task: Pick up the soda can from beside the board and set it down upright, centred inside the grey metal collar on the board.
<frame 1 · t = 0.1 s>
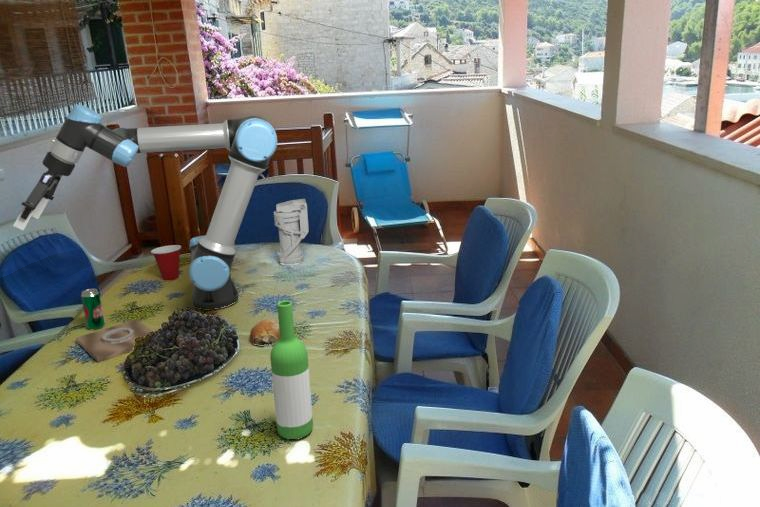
hand: (26, 222, 168), 36 cm above the table, tool tilted 35°, fingers open, 13 cm apart
plastic cup: (170, 278, 227), on the table
soda can: (96, 327, 186), on the table
bread roll: (268, 340, 173), on the table
wine bottle: (295, 432, 130), on the table
collar board: (119, 341, 175), on the table
grey tall angular piece: (294, 262, 241), on the table
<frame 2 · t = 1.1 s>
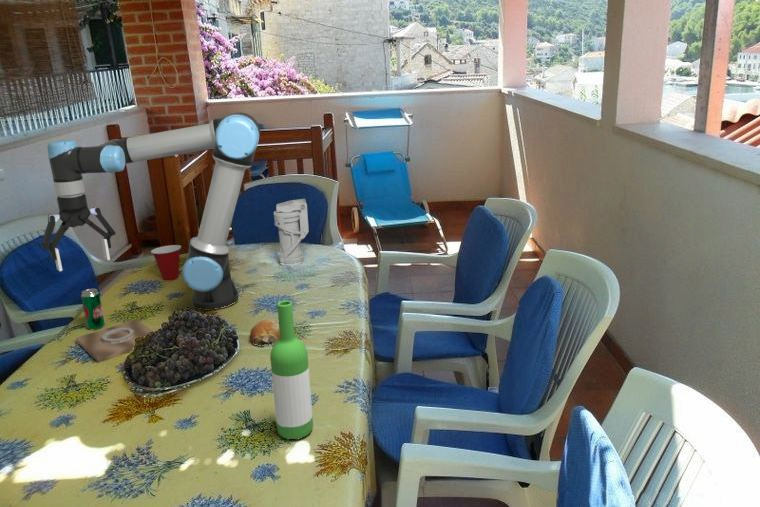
hand: (84, 264, 179), 20 cm above the table, tool pointing down, fingers open, 13 cm apart
nothing on the table moved.
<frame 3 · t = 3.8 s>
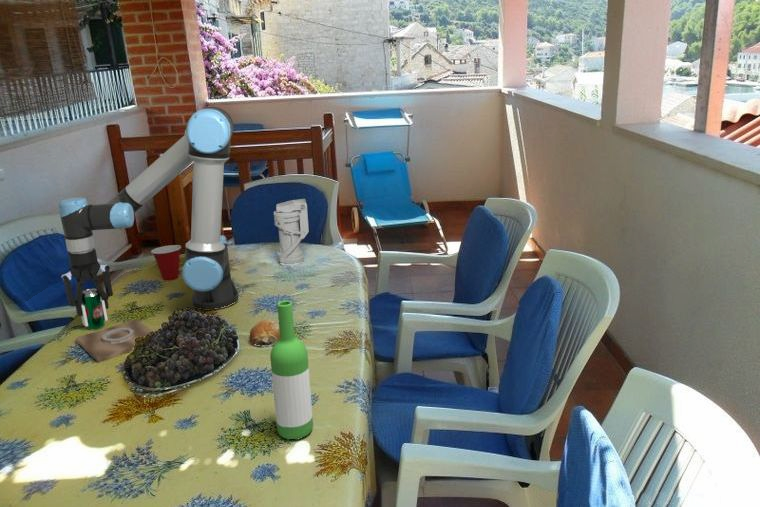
hand: (95, 321, 185), 2 cm above the table, tool pointing down, fingers closed on soda can, 5 cm apart
soda can: (96, 327, 186), on the table, touching gripper
everything else where it was.
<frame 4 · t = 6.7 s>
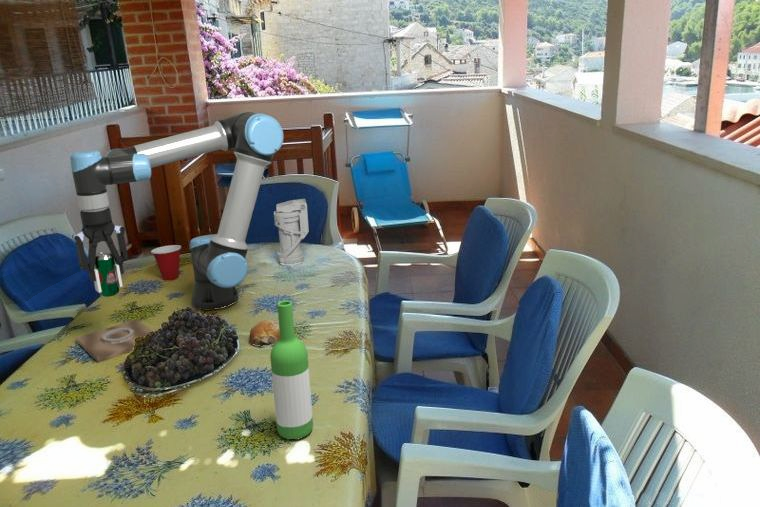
hand: (109, 288, 170), 17 cm above the table, tool pointing down, fingers closed on soda can, 5 cm apart
soda can: (110, 294, 171), point 15 cm above the table, touching gripper
everything else where it was.
when the fingers open (5 cm above the table, at t = 9.5 s): soda can drops 2 cm, resting on collar board.
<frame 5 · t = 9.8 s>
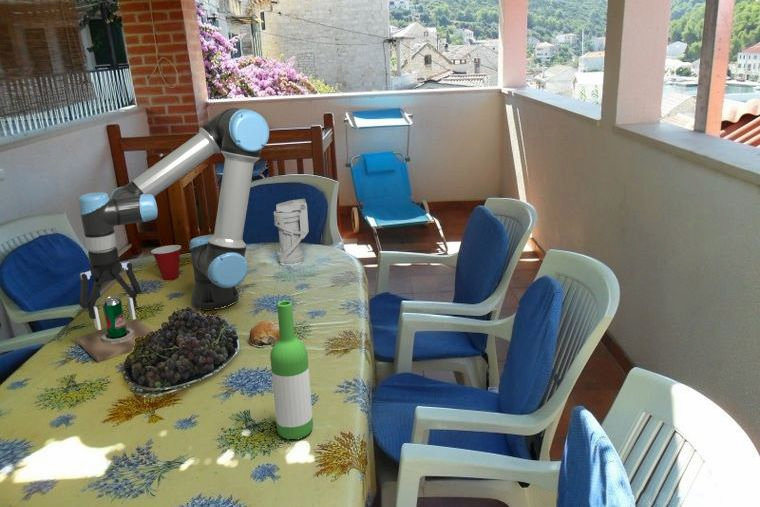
hand: (115, 323, 173), 6 cm above the table, tool pointing down, fingers open, 9 cm apart
soda can: (118, 337, 175), point 1 cm above the table, touching collar board
everything else where it was.
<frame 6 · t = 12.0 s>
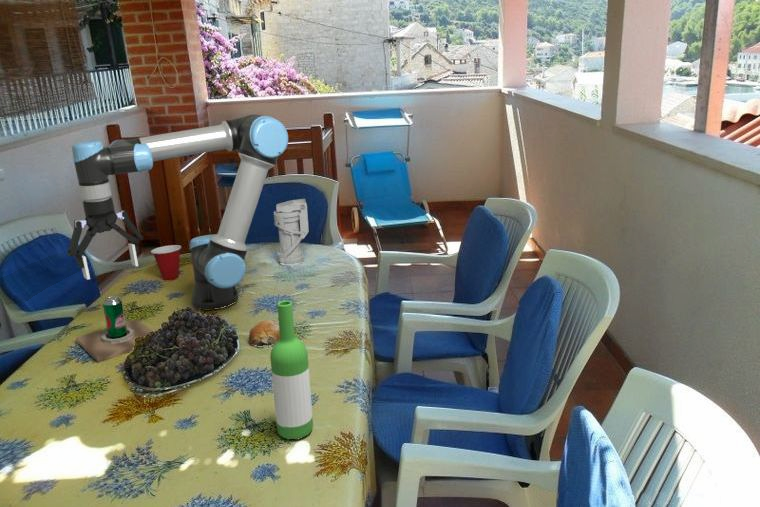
hand: (111, 271, 171), 21 cm above the table, tool pointing down, fingers open, 13 cm apart
nothing on the table moved.
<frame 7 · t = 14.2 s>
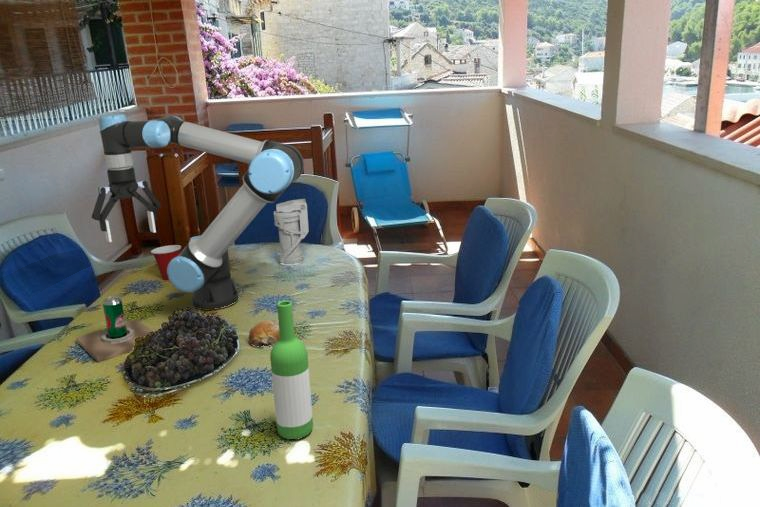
hand: (131, 236, 184), 27 cm above the table, tool pointing down, fingers open, 13 cm apart
nothing on the table moved.
at the end: soda can 0.0 cm off-centre on the collar board, point 1.3 cm above the collar board's base; soda can tilted 0°; the gripper is holding nothing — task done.
